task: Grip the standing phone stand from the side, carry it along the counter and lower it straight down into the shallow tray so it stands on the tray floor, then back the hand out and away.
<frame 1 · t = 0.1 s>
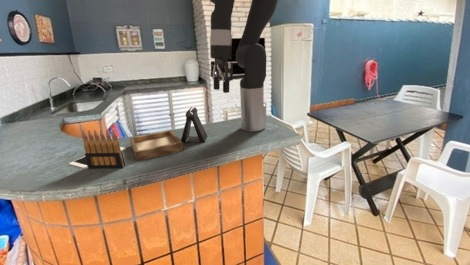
hand: (221, 90, 91), 17 cm above the countertop, tool pointing down, fingers open, 8 cm apart
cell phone: (99, 157, 83), on the countertop
ammunition clip: (107, 168, 75), on the countertop
shallow tray: (156, 147, 87), on the countertop
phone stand: (194, 140, 93), on the countertop
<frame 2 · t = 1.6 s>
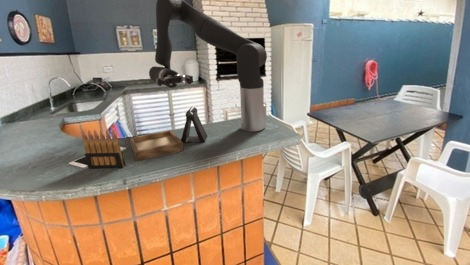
hand: (179, 82, 95), 20 cm above the countertop, tool horizontal, fingers open, 8 cm apart
nothing on the countertop moved.
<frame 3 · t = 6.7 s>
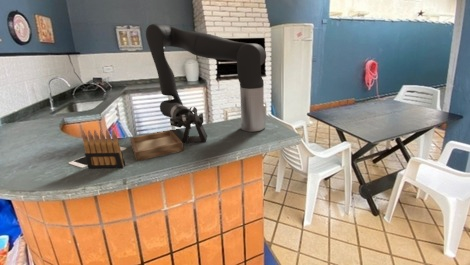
hand: (195, 125, 89), 7 cm above the countertop, tool horizontal, fingers closed on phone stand, 3 cm apart
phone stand: (194, 140, 93), on the countertop, touching gripper
everything else where it was.
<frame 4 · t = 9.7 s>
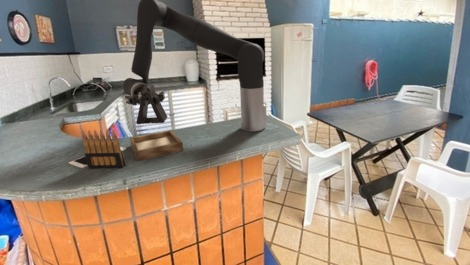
hand: (150, 102, 79), 17 cm above the countertop, tool horizontal, fingers closed on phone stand, 3 cm apart
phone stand: (152, 121, 84), point 10 cm above the countertop, touching gripper
everything else where it was.
when the fingers open (9 cm above the countertop, at t = 11.8 s): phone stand moves 2 cm, resting on shallow tray.
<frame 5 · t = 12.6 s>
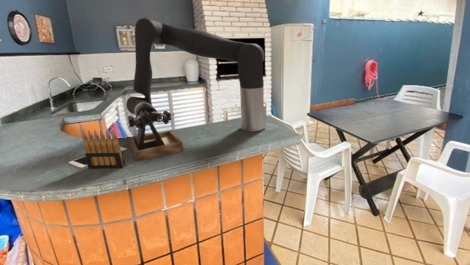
hand: (153, 123, 82), 10 cm above the countertop, tool horizontal, fingers open, 8 cm apart
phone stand: (150, 145, 87), point 1 cm above the countertop, touching shallow tray
everything else where it was.
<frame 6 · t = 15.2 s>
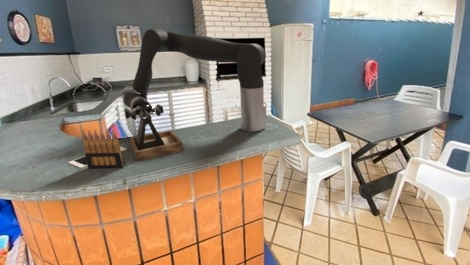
hand: (147, 115, 92), 10 cm above the countertop, tool horizontal, fingers open, 8 cm apart
nothing on the countertop moved.
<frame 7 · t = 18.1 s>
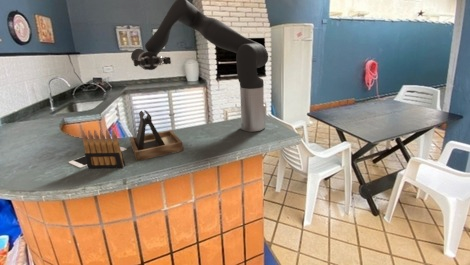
hand: (155, 62, 95), 28 cm above the countertop, tool horizontal, fingers open, 8 cm apart
nothing on the countertop moved.
at the end: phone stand inside the target area on the shallow tray (2.0 cm from its centre), point 1.0 cm above the shallow tray's base; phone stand tilted 0°; the gripper is holding nothing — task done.
